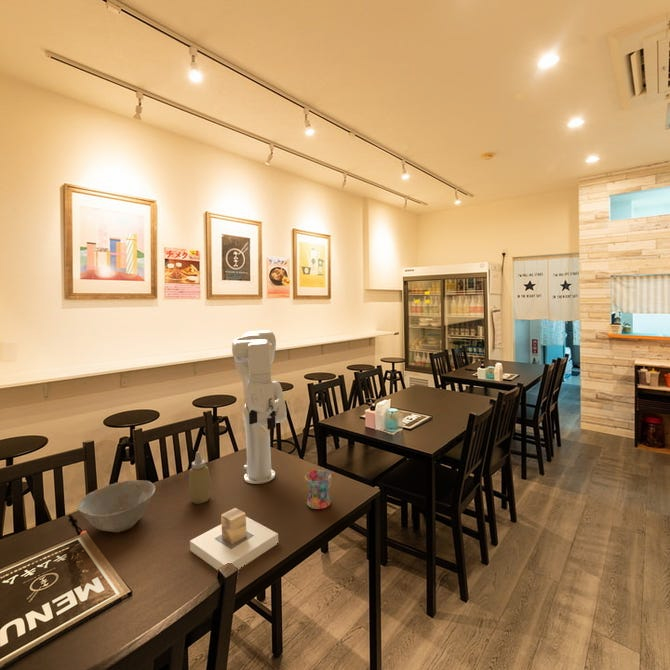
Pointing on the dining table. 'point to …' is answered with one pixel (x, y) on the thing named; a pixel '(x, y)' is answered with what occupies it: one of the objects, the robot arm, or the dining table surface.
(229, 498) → the dining table surface
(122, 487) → the ceramic bowl
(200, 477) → the squeeze bottle
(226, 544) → the base board
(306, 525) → the dining table surface
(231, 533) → the maple block
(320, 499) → the mug
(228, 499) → the dining table surface
